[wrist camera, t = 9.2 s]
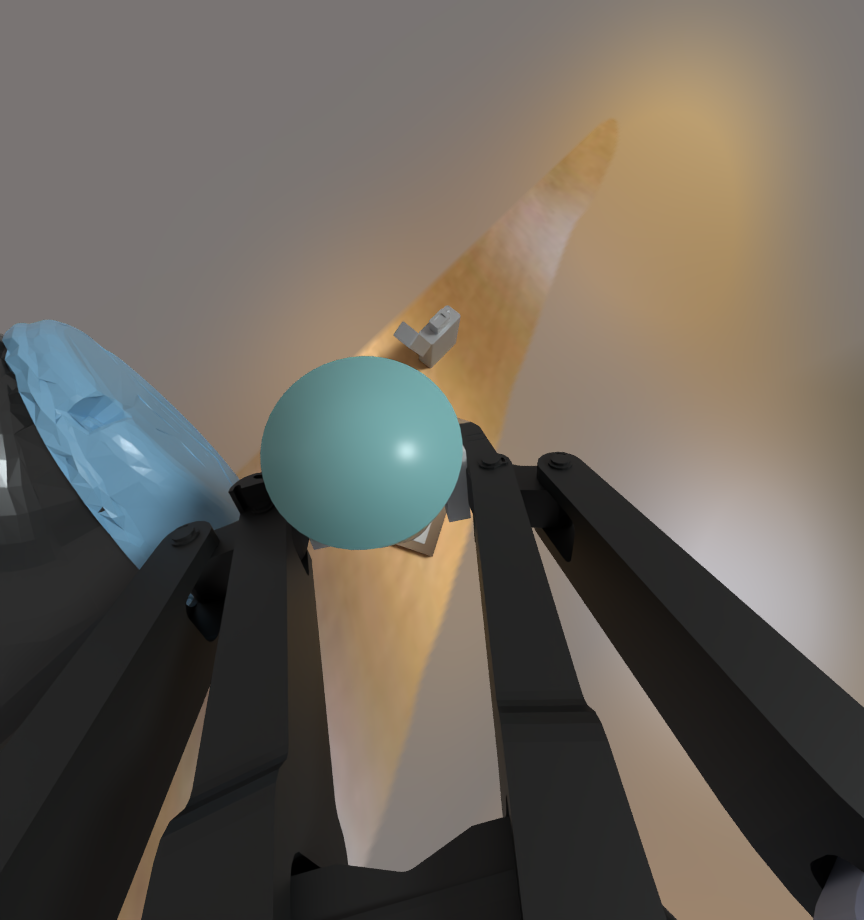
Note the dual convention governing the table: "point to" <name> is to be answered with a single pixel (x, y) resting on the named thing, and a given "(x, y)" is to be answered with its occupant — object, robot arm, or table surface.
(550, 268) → the table surface
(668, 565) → the robot arm
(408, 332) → the lighter
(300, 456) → the grey teal cylinder
